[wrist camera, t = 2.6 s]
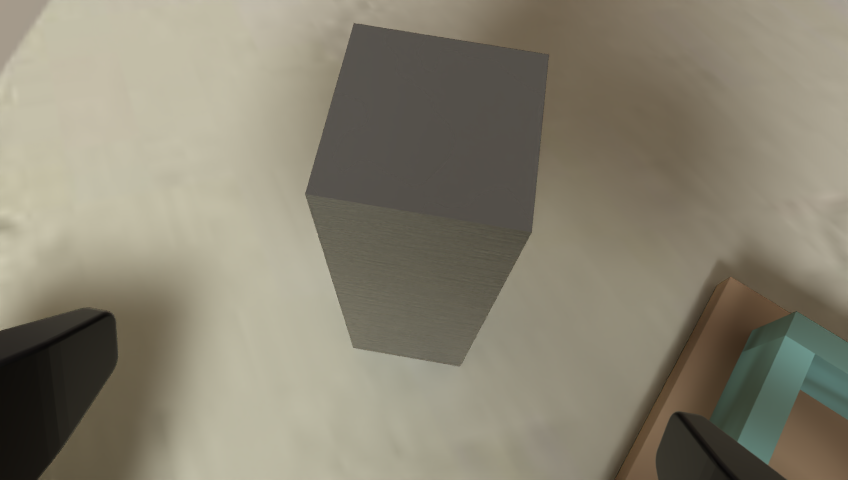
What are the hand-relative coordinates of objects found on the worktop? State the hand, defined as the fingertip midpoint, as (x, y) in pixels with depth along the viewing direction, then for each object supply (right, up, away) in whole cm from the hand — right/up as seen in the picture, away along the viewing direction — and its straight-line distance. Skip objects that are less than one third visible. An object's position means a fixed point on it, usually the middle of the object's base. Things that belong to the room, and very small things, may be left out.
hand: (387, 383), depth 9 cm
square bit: (0, 0, +13) cm, 13 cm away
